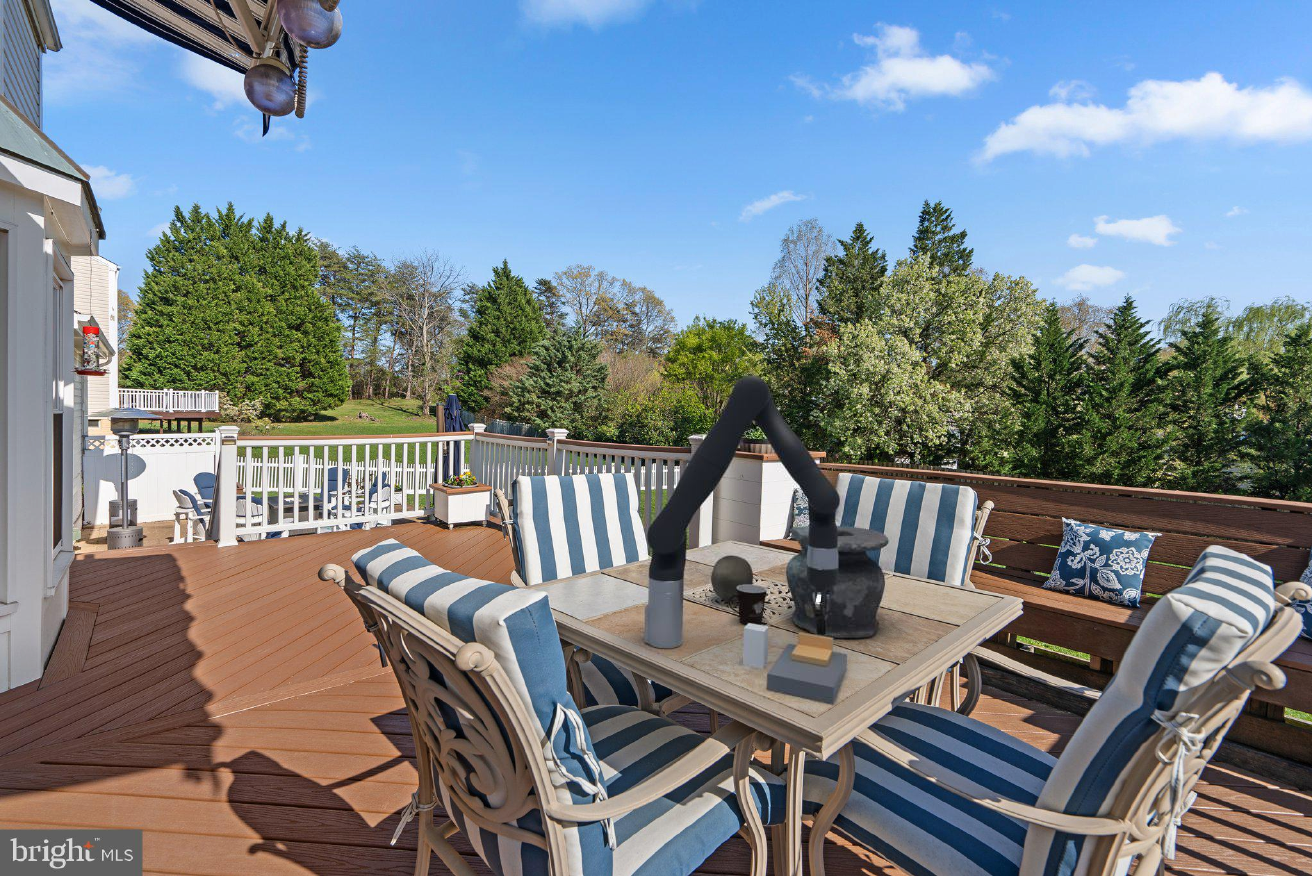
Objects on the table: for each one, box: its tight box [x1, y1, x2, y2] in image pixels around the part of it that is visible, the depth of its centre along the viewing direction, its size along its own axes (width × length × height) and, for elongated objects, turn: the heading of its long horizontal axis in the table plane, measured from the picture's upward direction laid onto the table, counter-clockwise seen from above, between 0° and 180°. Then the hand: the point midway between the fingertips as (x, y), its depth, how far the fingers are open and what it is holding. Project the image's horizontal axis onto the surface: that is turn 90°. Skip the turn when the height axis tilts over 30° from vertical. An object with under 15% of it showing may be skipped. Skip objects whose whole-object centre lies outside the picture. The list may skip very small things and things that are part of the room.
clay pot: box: [785, 525, 890, 639], centre depth 170 cm, size 29×30×30 cm
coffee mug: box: [727, 584, 767, 626], centre depth 169 cm, size 12×9×10 cm
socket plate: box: [766, 643, 848, 705], centre depth 132 cm, size 14×20×4 cm
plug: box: [742, 623, 770, 670], centre depth 139 cm, size 5×4×9 cm
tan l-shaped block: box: [791, 632, 834, 667], centre depth 135 cm, size 8×8×4 cm
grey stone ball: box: [710, 554, 754, 603], centre depth 189 cm, size 14×14×15 cm
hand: (821, 633), depth 144 cm, fingers closed
